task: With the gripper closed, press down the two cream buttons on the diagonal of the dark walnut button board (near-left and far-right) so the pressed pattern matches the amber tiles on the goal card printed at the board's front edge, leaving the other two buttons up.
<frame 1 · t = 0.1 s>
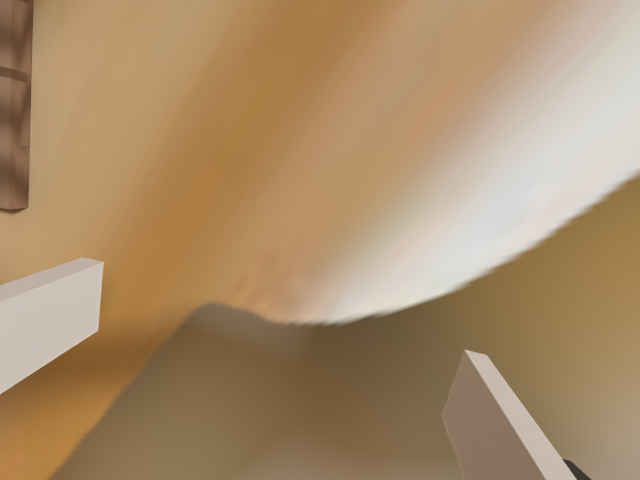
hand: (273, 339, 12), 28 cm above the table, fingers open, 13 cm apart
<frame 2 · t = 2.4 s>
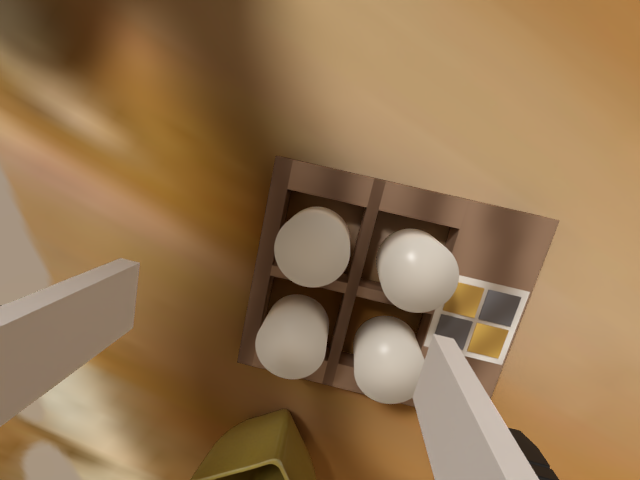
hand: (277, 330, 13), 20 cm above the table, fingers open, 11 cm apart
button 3: (413, 268, 27), point 5 cm above the table, slide at 0.0 cm
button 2: (294, 334, 29), point 5 cm above the table, slide at 0.0 cm
flower pot: (275, 431, 38), on the table
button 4: (387, 357, 29), point 5 cm above the table, slide at 0.0 cm
board: (381, 288, 33), on the table
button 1: (314, 244, 27), point 5 cm above the table, slide at 0.0 cm
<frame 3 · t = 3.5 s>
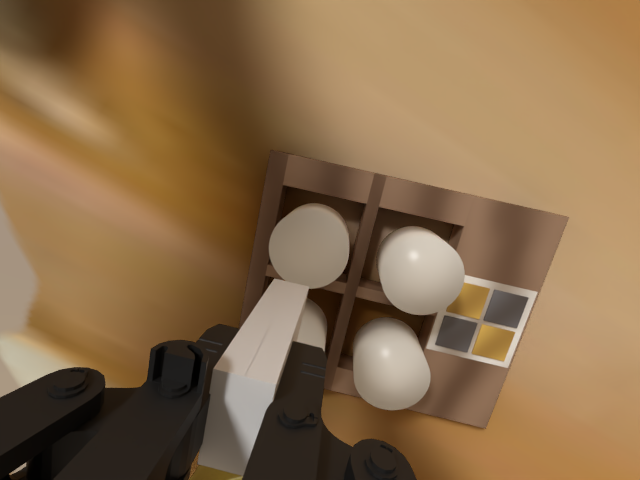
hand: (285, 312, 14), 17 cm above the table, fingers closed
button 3: (416, 267, 25), point 5 cm above the table, slide at 0.0 cm
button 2: (291, 337, 28), point 5 cm above the table, slide at 0.0 cm
flower pot: (272, 435, 36), on the table
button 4: (388, 361, 27), point 5 cm above the table, slide at 0.0 cm
board: (382, 288, 32), on the table
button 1: (311, 243, 26), point 5 cm above the table, slide at 0.0 cm
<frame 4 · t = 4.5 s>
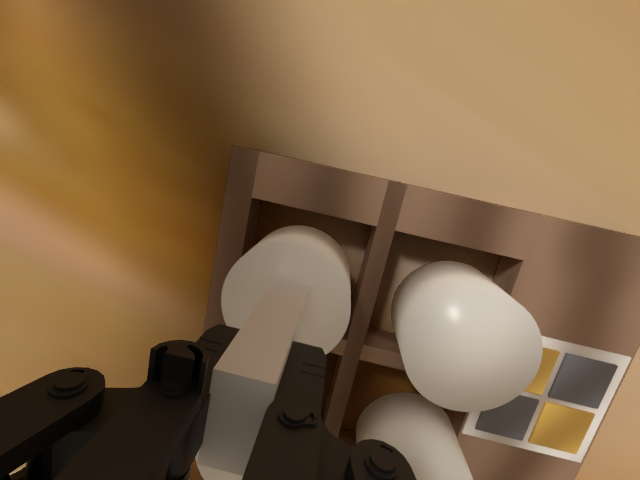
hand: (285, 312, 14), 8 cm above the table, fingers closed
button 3: (455, 329, 16), point 5 cm above the table, slide at 0.0 cm
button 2: (263, 427, 18), point 5 cm above the table, slide at 0.0 cm
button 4: (409, 464, 18), point 5 cm above the table, slide at 0.0 cm
board: (397, 341, 22), on the table
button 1: (292, 289, 17), point 5 cm above the table, slide at 0.2 cm, touching gripper
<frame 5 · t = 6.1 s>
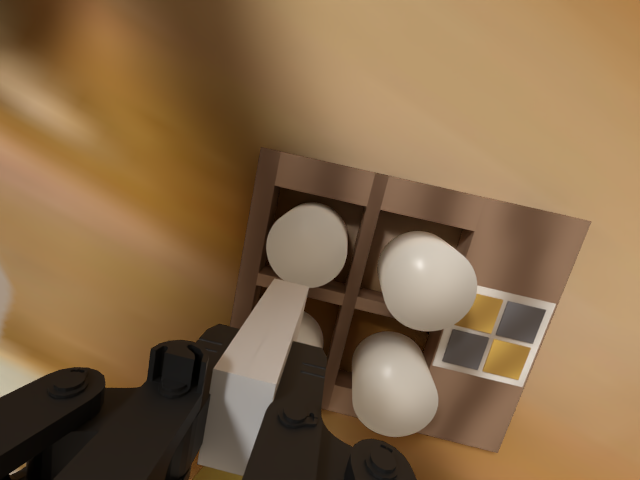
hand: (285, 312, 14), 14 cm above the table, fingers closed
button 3: (422, 277, 23), point 5 cm above the table, slide at 0.0 cm
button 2: (283, 354, 25), point 5 cm above the table, slide at 0.0 cm
flower pot: (265, 457, 34), on the table
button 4: (391, 380, 25), point 5 cm above the table, slide at 0.0 cm
board: (384, 298, 29), on the table
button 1: (309, 242, 26), point 3 cm above the table, slide at 2.4 cm
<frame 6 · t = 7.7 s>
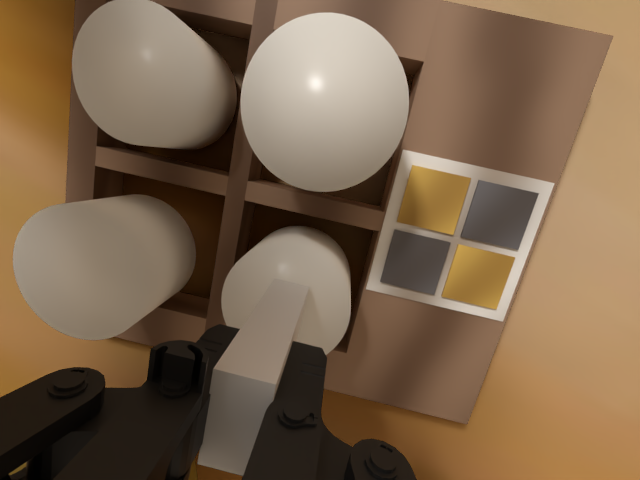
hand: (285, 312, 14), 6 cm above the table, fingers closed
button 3: (327, 115, 13), point 5 cm above the table, slide at 0.0 cm
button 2: (115, 260, 15), point 5 cm above the table, slide at 0.0 cm
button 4: (292, 289, 17), point 4 cm above the table, slide at 1.5 cm, touching gripper
board: (300, 197, 20), on the table
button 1: (164, 86, 16), point 3 cm above the table, slide at 2.4 cm
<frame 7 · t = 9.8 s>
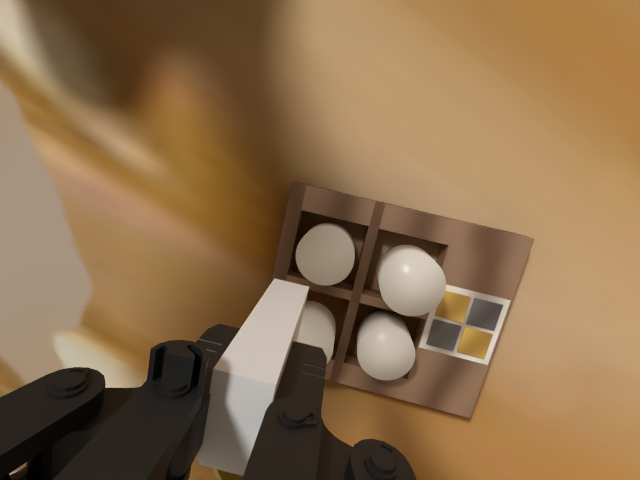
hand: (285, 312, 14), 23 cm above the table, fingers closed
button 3: (408, 278, 32), point 5 cm above the table, slide at 0.0 cm
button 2: (306, 335, 34), point 5 cm above the table, slide at 0.0 cm
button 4: (384, 344, 35), point 3 cm above the table, slide at 2.4 cm
board: (382, 296, 38), on the table
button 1: (326, 252, 34), point 3 cm above the table, slide at 2.4 cm
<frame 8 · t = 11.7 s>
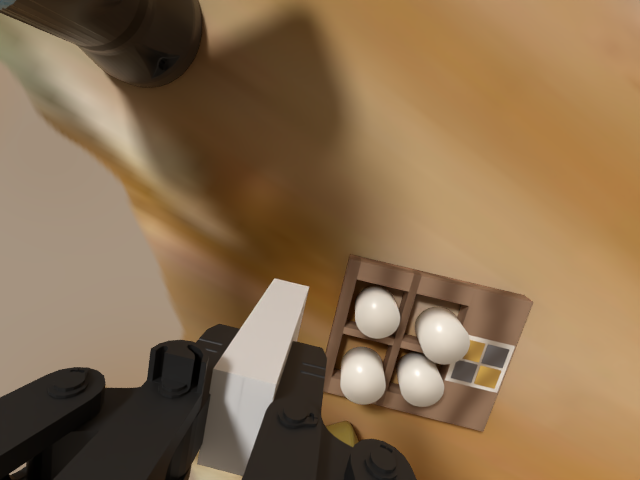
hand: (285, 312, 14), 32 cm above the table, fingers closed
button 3: (440, 334, 43), point 5 cm above the table, slide at 0.0 cm
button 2: (362, 374, 45), point 5 cm above the table, slide at 0.0 cm
flower pot: (337, 436, 53), on the table
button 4: (419, 378, 47), point 3 cm above the table, slide at 2.4 cm
board: (415, 339, 49), on the table
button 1: (376, 311, 45), point 3 cm above the table, slide at 2.4 cm
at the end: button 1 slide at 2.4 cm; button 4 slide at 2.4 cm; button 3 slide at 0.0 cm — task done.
